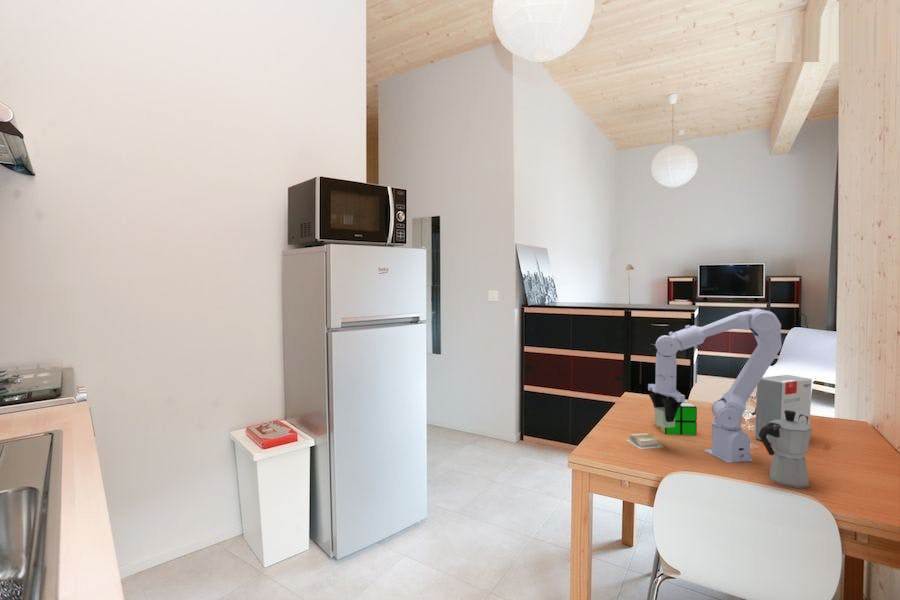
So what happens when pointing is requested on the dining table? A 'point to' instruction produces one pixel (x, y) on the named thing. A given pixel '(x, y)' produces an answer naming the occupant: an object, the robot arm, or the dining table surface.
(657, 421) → the green block
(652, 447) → the building mat
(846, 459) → the dining table surface
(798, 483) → the coffee maker
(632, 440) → the base block
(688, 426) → the puzzle cube
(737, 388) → the robot arm
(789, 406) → the hard drive box
